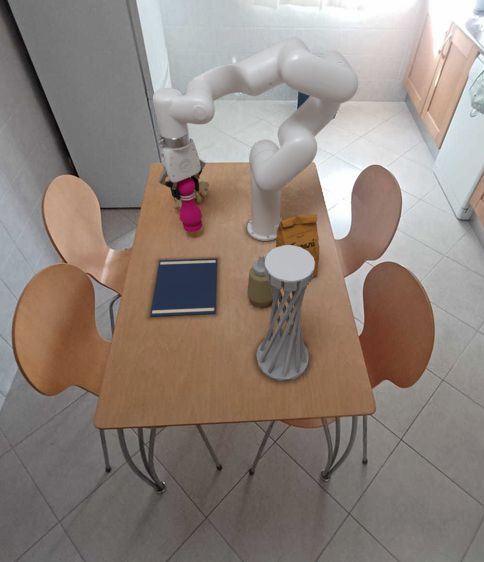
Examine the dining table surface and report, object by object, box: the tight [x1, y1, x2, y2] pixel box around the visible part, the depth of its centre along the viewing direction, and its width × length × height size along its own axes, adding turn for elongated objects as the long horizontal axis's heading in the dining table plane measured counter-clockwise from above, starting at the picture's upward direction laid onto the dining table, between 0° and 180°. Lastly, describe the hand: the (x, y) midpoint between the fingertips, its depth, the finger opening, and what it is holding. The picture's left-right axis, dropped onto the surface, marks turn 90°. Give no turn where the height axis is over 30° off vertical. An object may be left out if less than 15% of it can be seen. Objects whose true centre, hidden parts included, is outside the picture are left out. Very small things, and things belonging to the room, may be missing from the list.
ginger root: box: [169, 180, 210, 210], centre depth 143 cm, size 16×16×8 cm
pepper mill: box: [176, 177, 203, 233], centre depth 122 cm, size 7×7×20 cm
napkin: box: [149, 257, 218, 318], centre depth 117 cm, size 18×22×1 cm
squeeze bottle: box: [246, 253, 273, 308], centre depth 107 cm, size 8×8×18 cm
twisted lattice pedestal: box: [255, 245, 315, 382], centre depth 88 cm, size 14×13×35 cm
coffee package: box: [275, 214, 320, 277], centre depth 113 cm, size 10×12×22 cm
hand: (186, 193), depth 119 cm, fingers closed on pepper mill, 6 cm apart
